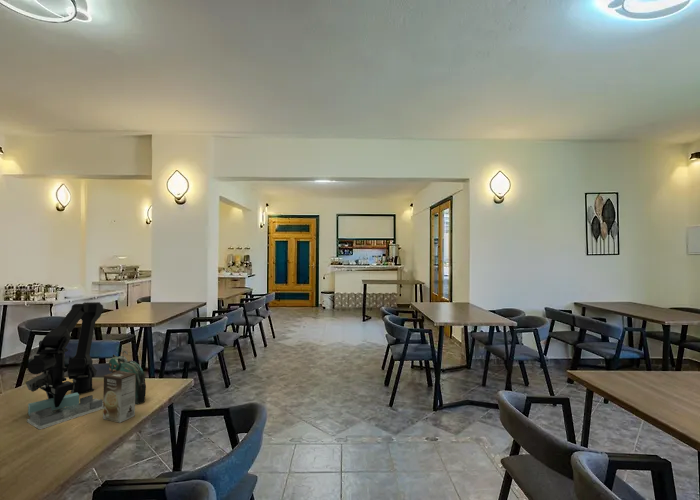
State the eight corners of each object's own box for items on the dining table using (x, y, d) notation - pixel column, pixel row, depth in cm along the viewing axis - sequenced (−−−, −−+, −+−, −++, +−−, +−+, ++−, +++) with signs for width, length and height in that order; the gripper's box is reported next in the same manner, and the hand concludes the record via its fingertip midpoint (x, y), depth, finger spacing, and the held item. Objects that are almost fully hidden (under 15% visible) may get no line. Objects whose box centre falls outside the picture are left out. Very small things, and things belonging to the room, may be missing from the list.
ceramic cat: (106, 397, 150) (107, 350, 151) (122, 392, 156) (122, 346, 157) (135, 406, 141) (135, 356, 142) (150, 400, 147) (151, 352, 147)
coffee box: (101, 419, 130) (102, 375, 130) (118, 412, 136) (118, 370, 136) (120, 423, 127) (120, 378, 127) (136, 415, 133) (136, 372, 133)
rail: (77, 402, 146) (77, 392, 146) (79, 404, 144) (79, 394, 144) (28, 414, 135) (28, 403, 135) (29, 417, 132) (29, 406, 132)
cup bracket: (95, 400, 147) (95, 393, 147) (109, 406, 141) (109, 398, 141) (27, 421, 128) (27, 413, 128) (39, 429, 122) (39, 420, 122)
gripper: (19, 367, 137) (18, 408, 137) (39, 375, 128) (38, 419, 128) (54, 360, 147) (53, 398, 147) (75, 367, 137) (74, 408, 137)
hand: (54, 405), depth 139 cm, fingers open, 4 cm apart
